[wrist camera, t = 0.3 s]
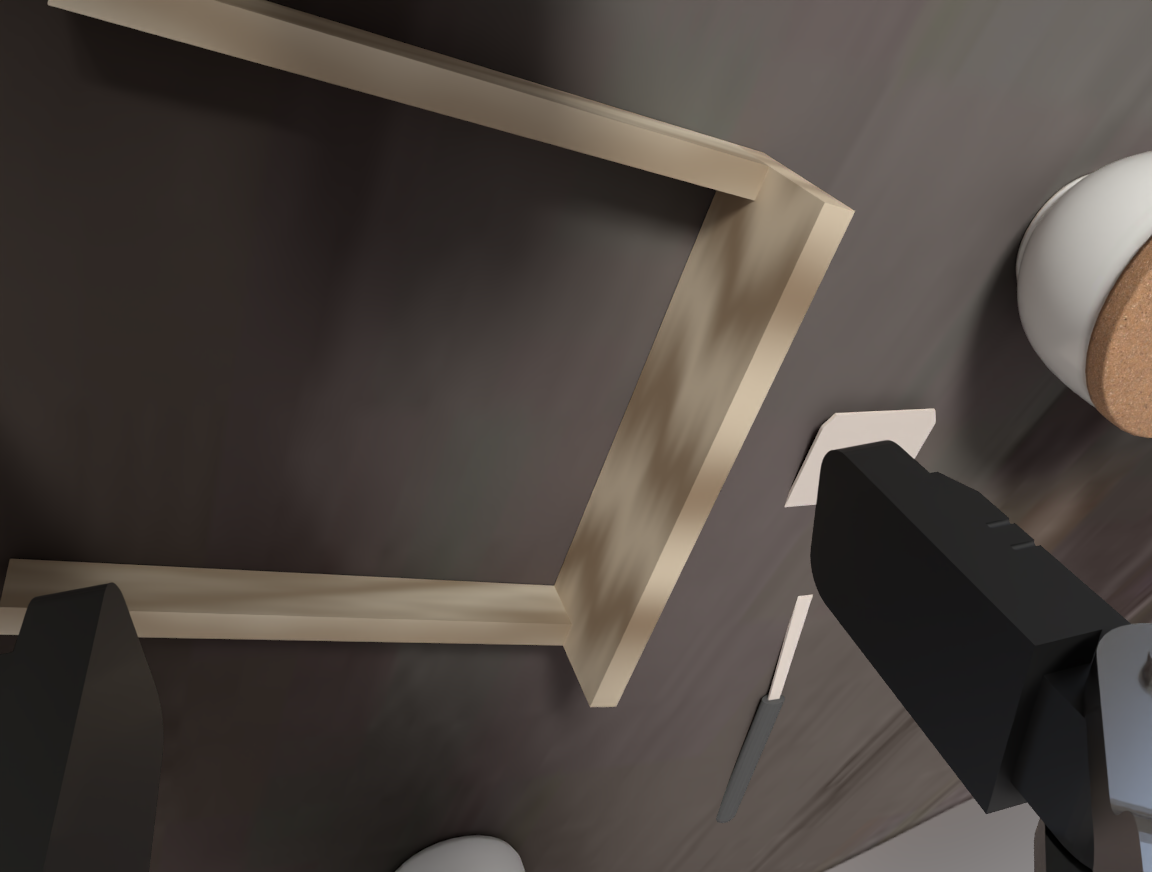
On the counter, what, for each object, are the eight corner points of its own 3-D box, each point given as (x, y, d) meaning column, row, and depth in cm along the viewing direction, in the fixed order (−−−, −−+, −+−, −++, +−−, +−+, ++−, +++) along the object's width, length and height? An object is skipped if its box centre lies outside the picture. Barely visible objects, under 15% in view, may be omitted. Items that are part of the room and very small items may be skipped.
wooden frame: (62, -62, 24) (33, -25, 20) (762, 152, 34) (855, 211, 29) (7, 585, 34) (-21, 714, 29) (569, 607, 44) (615, 706, 39)
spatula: (923, 393, 44) (942, 409, 43) (764, 804, 59) (775, 824, 58) (811, 397, 42) (829, 415, 41) (676, 823, 57) (686, 844, 56)
